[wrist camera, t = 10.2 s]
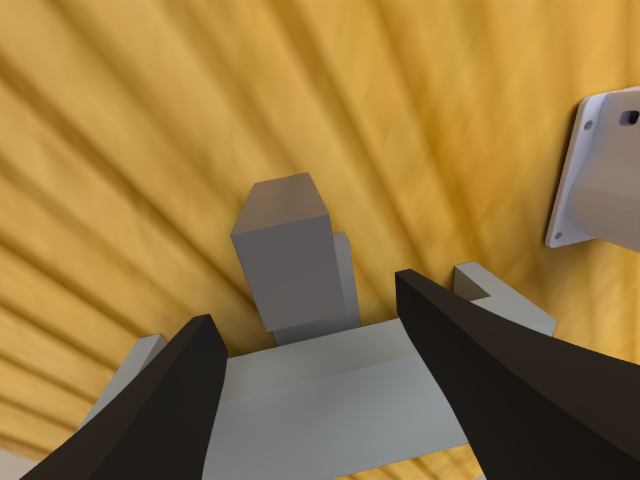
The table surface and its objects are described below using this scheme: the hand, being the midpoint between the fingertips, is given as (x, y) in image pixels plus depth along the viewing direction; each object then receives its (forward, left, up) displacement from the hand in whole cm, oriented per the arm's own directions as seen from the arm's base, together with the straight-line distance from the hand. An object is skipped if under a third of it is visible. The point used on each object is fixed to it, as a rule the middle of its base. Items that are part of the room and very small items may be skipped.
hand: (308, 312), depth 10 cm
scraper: (+6, 0, -6) cm, 9 cm away
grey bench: (+9, 0, -6) cm, 11 cm away
